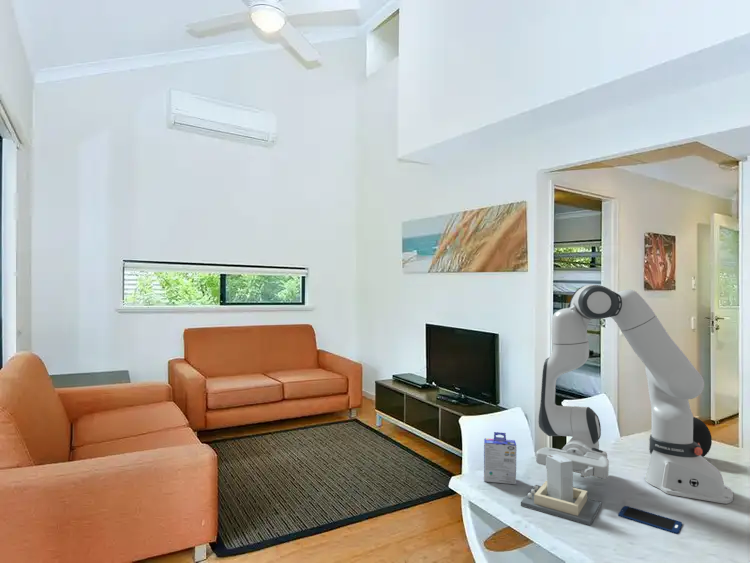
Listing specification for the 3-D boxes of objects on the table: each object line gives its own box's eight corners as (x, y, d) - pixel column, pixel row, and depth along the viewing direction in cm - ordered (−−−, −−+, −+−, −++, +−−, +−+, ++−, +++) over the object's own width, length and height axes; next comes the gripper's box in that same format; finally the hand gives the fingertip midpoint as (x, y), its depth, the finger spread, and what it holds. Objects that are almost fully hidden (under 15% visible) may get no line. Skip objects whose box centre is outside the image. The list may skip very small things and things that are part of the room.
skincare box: (574, 504, 130) (574, 461, 130) (560, 507, 128) (561, 462, 128) (558, 495, 135) (558, 453, 135) (545, 497, 134) (546, 455, 134)
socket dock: (600, 505, 132) (601, 492, 132) (590, 525, 121) (590, 511, 121) (536, 488, 142) (536, 476, 142) (520, 505, 131) (520, 492, 131)
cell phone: (678, 536, 117) (678, 533, 117) (617, 517, 126) (617, 514, 126) (683, 525, 122) (683, 522, 122) (624, 507, 131) (624, 504, 131)
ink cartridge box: (515, 477, 150) (515, 432, 150) (516, 485, 144) (517, 438, 144) (483, 475, 152) (484, 430, 152) (483, 482, 146) (484, 435, 146)
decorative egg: (662, 455, 172) (662, 414, 172) (683, 450, 177) (684, 410, 177) (697, 467, 160) (698, 423, 161) (719, 462, 166) (719, 419, 166)
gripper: (542, 439, 152) (529, 451, 141) (612, 453, 140) (604, 467, 129) (542, 458, 152) (529, 472, 141) (612, 474, 140) (603, 490, 129)
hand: (565, 470), depth 135 cm, fingers open, 8 cm apart
